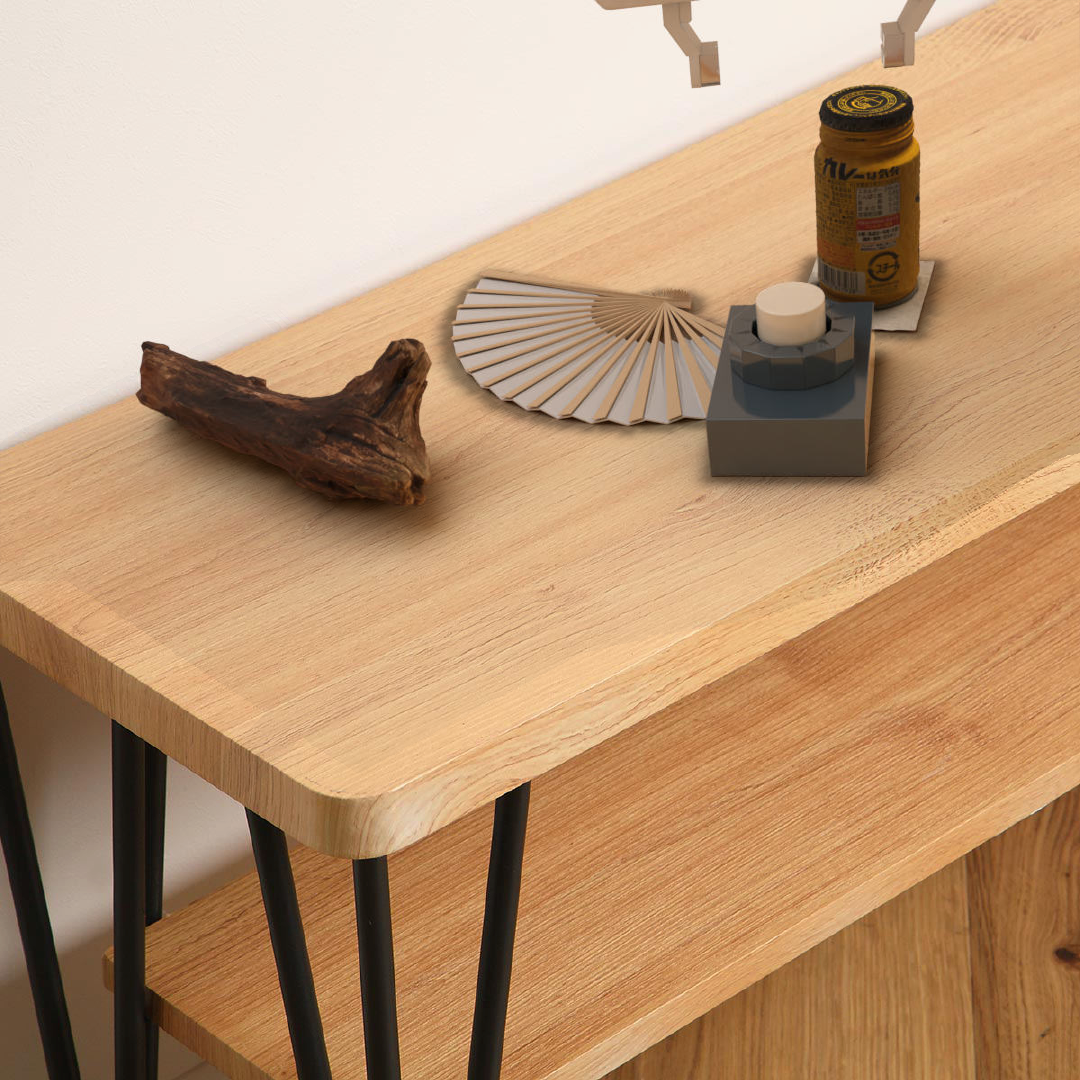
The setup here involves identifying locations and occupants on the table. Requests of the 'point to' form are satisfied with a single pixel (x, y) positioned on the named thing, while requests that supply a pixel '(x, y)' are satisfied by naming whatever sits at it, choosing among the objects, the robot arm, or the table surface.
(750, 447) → the grey socket base
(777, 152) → the table surface
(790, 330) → the cream cylinder plug
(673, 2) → the robot arm
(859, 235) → the condiment
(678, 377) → the hand fan
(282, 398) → the driftwood
